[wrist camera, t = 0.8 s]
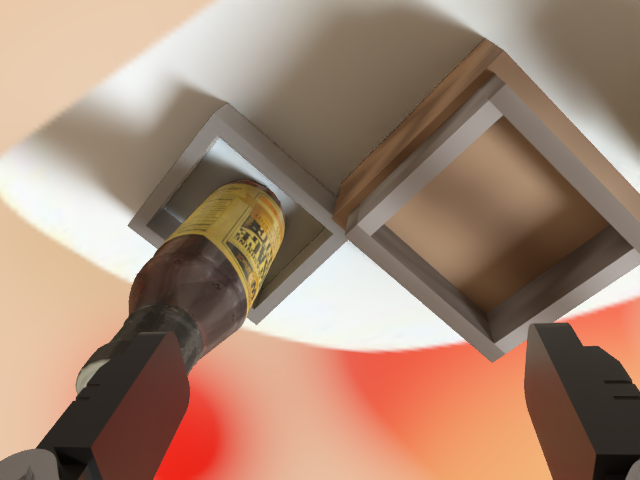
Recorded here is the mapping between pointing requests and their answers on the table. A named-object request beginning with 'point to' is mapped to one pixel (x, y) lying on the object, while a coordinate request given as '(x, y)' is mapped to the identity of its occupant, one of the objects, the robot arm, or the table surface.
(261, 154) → the low holder
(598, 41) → the table surface
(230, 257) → the sauce bottle
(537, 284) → the walnut dock
